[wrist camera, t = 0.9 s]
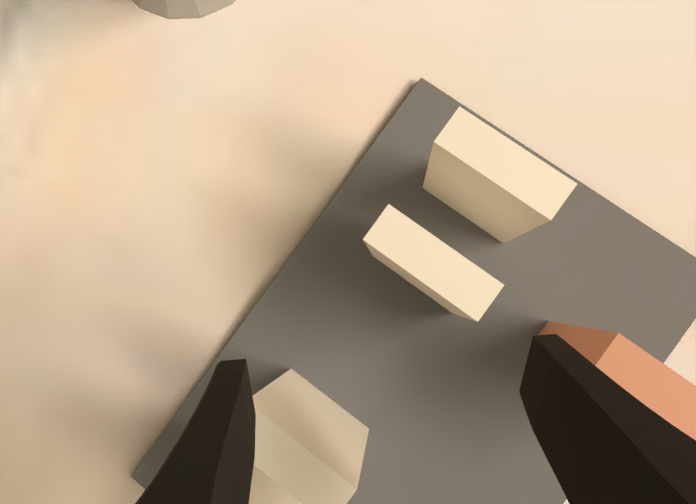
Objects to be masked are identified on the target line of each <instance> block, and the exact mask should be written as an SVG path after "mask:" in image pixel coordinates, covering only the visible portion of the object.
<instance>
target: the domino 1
mask: <svg viewBox="0 0 696 504" xmlns="http://www.w3.org/2000/svg"><path fill="white" fill-rule="evenodd" d="M249 504H302V503H300V502H299V501H298V500H297V499H295V498H294V497H293V496H292V495H291V494H289V493H288V492H287V491H286V490H284V489H283V488H282V487H281V486H279V485H278V484H277V483H276V482H275V481H273V480H272V479H271V478H270V477H268V476H267V475H266V474H265V473H263V472H262V471H261V470H260V469H259V468H257V467H256V466H255V465H254V466H253V474H252V481H251V489H250V497H249Z"/></svg>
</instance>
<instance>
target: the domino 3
mask: <svg viewBox="0 0 696 504" xmlns="http://www.w3.org/2000/svg"><path fill="white" fill-rule="evenodd" d="M576 185H577V183H576V182H574V181H573V180H571V179H569V178H568V177H566V176H565V175H563V174H562V173H560V172H559V171H557V170H556V169H554V168H553V167H551V166H550V165H548V164H547V163H545V162H544V161H542V160H541V159H539V158H538V157H536V156H534V155H533V154H531V153H530V152H528V151H527V150H525V149H524V148H522V147H521V146H519V145H518V144H516V143H515V142H513V141H512V140H510V139H509V138H507V137H506V136H504V135H502V134H501V133H499V132H498V131H496V130H495V129H493V128H492V127H490V126H489V125H487V124H486V123H484V122H483V121H481V120H480V119H478V118H477V117H475V116H474V115H472V114H471V113H469V112H467V111H466V110H464V109H463V108H461V107H460V106H459V108H458V109H457V110H456V112H455V113H454V115H453V116H452V117H451V119H450V120H449V121H448V123H447V124H446V126H445V127H444V128H443V130H442V131H441V132H440V134H439V135H438V137H437V138H436V139H435V141H434V143H433V147H432V151H431V155H430V159H429V163H428V167H427V171H426V175H425V179H424V183H423V187H422V188H423V189H425V190H426V191H428V192H429V193H431V194H432V195H434V196H435V197H436V198H438V199H439V200H441V201H442V202H444V203H445V204H447V205H448V206H449V207H451V208H452V209H454V210H455V211H457V212H458V213H460V214H461V215H463V216H464V217H465V218H467V219H468V220H470V221H471V222H473V223H474V224H476V225H477V226H479V227H480V228H481V229H483V230H484V231H486V232H487V233H489V234H490V235H492V236H493V237H494V238H496V239H497V240H499V241H500V242H502V243H505V242H507V241H509V240H511V239H513V238H516V237H518V236H520V235H522V234H524V233H526V232H528V231H530V230H532V229H534V228H536V227H539V226H541V225H543V224H545V223H547V222H549V221H551V220H552V219H553V217H554V216H555V214H556V213H557V212H558V210H559V209H560V207H561V206H562V205H563V203H564V202H565V201H566V199H567V198H568V196H569V195H570V194H571V192H572V191H573V189H574V188H575V187H576Z"/></svg>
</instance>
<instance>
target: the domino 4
mask: <svg viewBox="0 0 696 504" xmlns="http://www.w3.org/2000/svg"><path fill="white" fill-rule="evenodd" d="M363 241H364V242H365V244H366V246H367V247H368V249H369V251H370V252H371V254H372V256H373V257H375V258H376V259H378V260H379V261H380V262H382V263H383V264H384V265H386V266H387V267H389V268H390V269H391V270H393V271H394V272H396V273H397V274H398V275H400V276H401V277H403V278H404V279H405V280H407V281H408V282H409V283H411V284H412V285H414V286H415V287H416V288H418V289H419V290H421V291H422V292H423V293H425V294H426V295H428V296H429V297H430V298H432V299H433V300H434V301H436V302H437V303H439V304H440V305H441V306H443V307H444V308H446V309H447V310H448V311H450V312H451V313H453V314H456V315H458V316H461V317H464V318H467V319H470V320H473V321H476V322H478V321H479V320H480V318H481V317H482V316H483V314H484V313H485V311H486V310H487V309H488V307H489V306H490V305H491V303H492V302H493V300H494V299H495V298H496V296H497V295H498V293H499V292H500V291H501V289H502V288H503V286H504V284H502V283H501V282H500V281H498V280H497V279H495V278H494V277H492V276H491V275H490V274H488V273H487V272H485V271H484V270H482V269H481V268H480V267H478V266H477V265H475V264H474V263H472V262H471V261H470V260H468V259H467V258H465V257H464V256H462V255H461V254H460V253H458V252H457V251H455V250H454V249H452V248H451V247H450V246H448V245H447V244H445V243H444V242H442V241H441V240H440V239H438V238H437V237H435V236H434V235H432V234H431V233H430V232H428V231H427V230H425V229H424V228H422V227H421V226H420V225H418V224H417V223H415V222H414V221H412V220H411V219H410V218H408V217H407V216H405V215H404V214H402V213H401V212H400V211H398V210H397V209H395V208H394V207H392V206H391V205H390V204H388V205H387V207H386V208H385V209H384V211H383V212H382V214H381V215H380V216H379V218H378V219H377V220H376V222H375V223H374V225H373V226H372V227H371V229H370V230H369V231H368V233H367V234H366V236H365V237H364V238H363Z"/></svg>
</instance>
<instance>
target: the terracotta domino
mask: <svg viewBox="0 0 696 504" xmlns="http://www.w3.org/2000/svg"><path fill="white" fill-rule="evenodd" d="M547 334H557V335H558V336H560V337H561V338H562V339H563V340H565V341H566V342H567V343H568V344H570V345H571V346H572V347H573V348H574V349H576V350H577V351H578V352H579V353H580V354H582V355H583V356H584V357H585V358H587V359H588V360H589V361H590V362H591V363H593V364H594V365H595V366H596V367H597V368H599V369H600V370H601V371H602V372H604V373H605V374H606V375H607V376H608V377H610V378H611V379H612V380H613V381H615V382H616V383H617V384H618V385H620V386H621V387H622V388H624V389H625V390H626V391H627V392H629V393H630V394H631V395H633V396H634V397H635V398H636V399H638V400H639V401H640V402H642V403H643V404H644V405H646V406H647V407H648V408H650V409H651V410H653V411H654V412H655V413H657V414H658V415H660V416H661V417H662V418H664V419H665V420H666V421H668V422H669V423H671V424H672V425H673V426H675V427H676V428H678V429H679V430H681V431H682V432H684V433H685V434H687V435H688V436H690V437H691V438H693V439H694V440H696V386H695V385H693V384H692V383H690V382H689V381H688V380H686V379H685V378H683V377H682V376H680V375H679V374H677V373H676V372H675V371H673V370H672V369H670V368H669V367H667V366H666V365H664V364H663V363H662V362H660V361H659V360H657V359H656V358H654V357H653V356H651V355H650V354H649V353H647V352H646V351H644V350H643V349H641V348H640V347H638V346H637V345H636V344H634V343H633V342H631V341H630V340H628V339H627V338H625V337H624V336H623V335H621V334H620V333H617V332H611V331H605V330H599V329H593V328H587V327H582V326H576V325H570V324H564V323H558V322H553V321H548V322H547V323H546V325H545V326H544V328H543V329H542V330H541V332H540V333H539V335H547Z"/></svg>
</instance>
